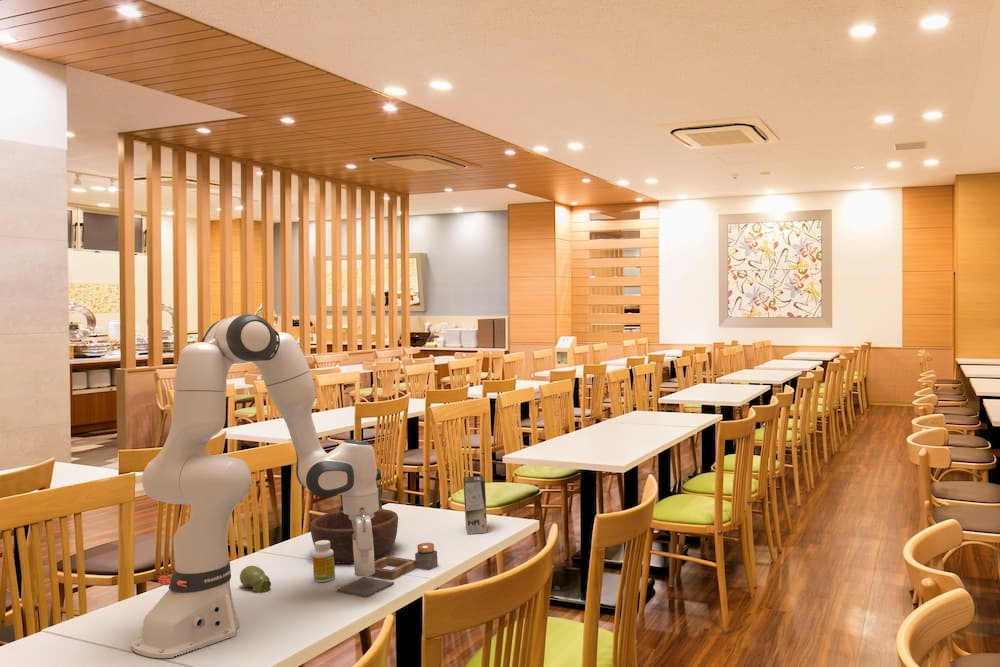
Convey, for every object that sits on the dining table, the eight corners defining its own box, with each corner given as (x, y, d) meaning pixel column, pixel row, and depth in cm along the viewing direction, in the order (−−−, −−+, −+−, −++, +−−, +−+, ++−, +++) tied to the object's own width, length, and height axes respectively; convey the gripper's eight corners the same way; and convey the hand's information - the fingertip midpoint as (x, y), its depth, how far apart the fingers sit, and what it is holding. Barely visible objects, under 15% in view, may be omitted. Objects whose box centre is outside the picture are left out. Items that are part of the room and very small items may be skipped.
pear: (255, 560, 212) (277, 573, 205) (254, 579, 212) (276, 593, 206) (236, 566, 208) (257, 579, 201) (235, 585, 208) (256, 599, 202)
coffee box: (488, 533, 248) (485, 481, 247) (467, 534, 247) (464, 482, 247) (485, 525, 257) (482, 475, 256) (465, 527, 256) (462, 476, 256)
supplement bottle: (329, 582, 208) (327, 545, 208) (310, 582, 209) (308, 545, 209) (338, 575, 213) (336, 539, 213) (319, 575, 214) (317, 539, 214)
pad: (367, 597, 195) (367, 595, 195) (336, 591, 201) (336, 589, 201) (393, 584, 204) (393, 582, 204) (363, 579, 209) (363, 577, 209)
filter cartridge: (366, 577, 199) (363, 537, 199) (350, 575, 202) (348, 535, 201) (379, 571, 204) (376, 531, 203) (363, 569, 206) (361, 530, 206)
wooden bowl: (297, 567, 223) (295, 530, 223) (331, 541, 248) (329, 507, 247) (383, 567, 219) (381, 530, 218) (410, 541, 243) (408, 507, 243)
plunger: (428, 566, 214) (427, 548, 214) (415, 564, 216) (414, 546, 216) (438, 562, 218) (437, 543, 218) (425, 560, 220) (424, 542, 220)
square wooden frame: (404, 581, 206) (403, 566, 206) (361, 574, 213) (360, 559, 213) (437, 565, 218) (436, 550, 218) (396, 559, 225) (395, 544, 225)
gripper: (377, 512, 193) (380, 570, 193) (370, 494, 213) (373, 546, 213) (350, 515, 191) (353, 573, 192) (346, 496, 211) (349, 549, 212)
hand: (364, 559), depth 202 cm, fingers closed on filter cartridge, 5 cm apart
